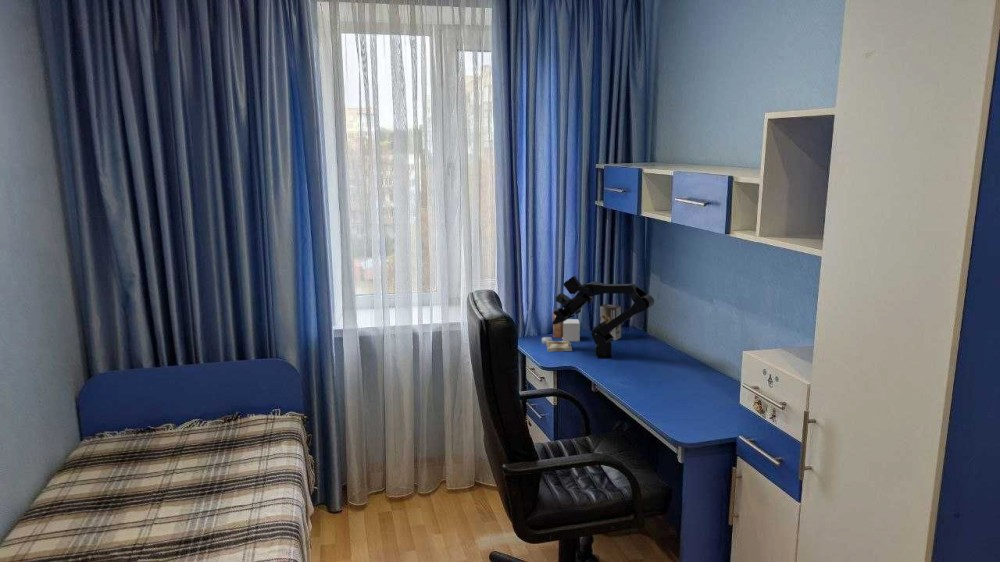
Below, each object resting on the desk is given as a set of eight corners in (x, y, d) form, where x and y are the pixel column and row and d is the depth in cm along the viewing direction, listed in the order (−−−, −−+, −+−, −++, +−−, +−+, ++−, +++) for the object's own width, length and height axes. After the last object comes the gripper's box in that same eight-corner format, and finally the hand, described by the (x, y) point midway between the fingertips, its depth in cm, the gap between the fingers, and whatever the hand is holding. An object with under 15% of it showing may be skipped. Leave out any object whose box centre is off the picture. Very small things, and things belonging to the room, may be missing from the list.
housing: (577, 336, 336) (577, 319, 334) (579, 341, 328) (579, 323, 327) (560, 336, 336) (560, 319, 334) (562, 341, 328) (562, 323, 327)
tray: (569, 344, 323) (569, 341, 323) (571, 351, 312) (572, 347, 312) (546, 344, 323) (546, 341, 323) (548, 351, 312) (548, 348, 312)
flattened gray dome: (551, 341, 329) (551, 336, 328) (552, 344, 324) (552, 339, 324) (541, 341, 329) (541, 337, 328) (542, 344, 324) (542, 339, 323)
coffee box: (621, 337, 334) (622, 305, 331) (616, 340, 329) (616, 308, 326) (604, 334, 339) (605, 303, 336) (599, 337, 334) (599, 306, 331)
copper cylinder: (565, 336, 316) (565, 310, 314) (560, 338, 312) (560, 312, 310) (555, 334, 319) (556, 308, 316) (551, 337, 315) (551, 311, 312)
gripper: (575, 284, 317) (553, 305, 324) (557, 292, 301) (535, 313, 309) (590, 303, 314) (568, 323, 322) (573, 311, 299) (550, 332, 306)
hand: (555, 322), depth 315 cm, fingers closed on copper cylinder, 5 cm apart
